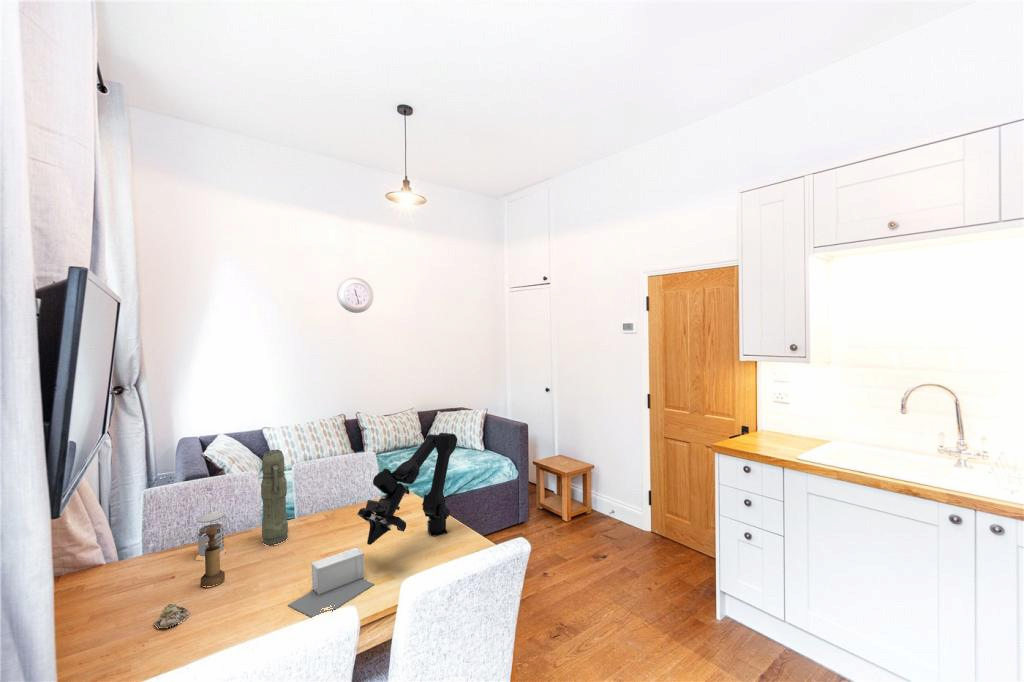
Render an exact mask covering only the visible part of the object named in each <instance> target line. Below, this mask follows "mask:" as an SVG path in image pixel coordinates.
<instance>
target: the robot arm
mask: <svg viewBox="0 0 1024 682" xmlns="http://www.w3.org/2000/svg"><path fill="white" fill-rule="evenodd" d="M457 444H458V437H457V435H456V434H455V433H449V432H440V433H439V434H434V433H433V434H432V433H429V434H428V435H426V438H425V440H424V441H423V442H422V443H421V445H420V446H419V447H418V448H417V449H416V451H415V452H414V453H413V454H412V456H411V457H410V458H409V459H408V460H406V461H404V462H402V463H401V464H400V465H398V466H397V468H396V469H395V470H393V471H391V470H390V469H388V468H383V470H382V471H380V472H378V473H377V474H376V475H375V476H374V477H373V479H372V484H373V486H374V487H376V488H377V489H378V490H379V491H380V492H381V493H382V494H385V495H384V498H383V497H380V498H379V500H372V499H367V502H366V506H365V507H361V508H360V509H359V510H358V512H357V514H356V515H358V517H360V518H362V519H363V520H364V521H365V522H368V523H369V532H368V535H367V542H366V544H367V545H369V546H371V545H373V544H374V543H375V542H376V541H377V540H378V539H380V538H381V537H383V535H385V534H386V533H387V532H389V531H390V532H391V531H392V528H391V527H392V526H394V527H396V529H397V531H399V532H402V533H403V532H405V531H406V529H407V522H406V521H405V520H403V519H402V518H401V517H399V516H395V513H396V512H397V511H400V508H401V507H400V506H399V505H400V504H401V502H402V499H403V498H404V496H405V495H410V494H411V493H410V492H411V491H410V489H409V486H408V485H413V484H414V483H415V481H416V480H417V478H418V476H419V474H420V468H421V466H423V464H424V463H425V462H426V461H427V459H428V458H429V456H430V455H431V454H432V452H433V451H434V450H435V449H436V454H437V455H436V456H437V458H436V462H435V467H434V471H433V477H432V482H431V486H430V491H429V492H427V494H424V495H423V501H422V503H421V506H422V511H423V513H424V517H426V518H428V520H427V522H426V523H427V524H426V525H427V532H428V533H429V535H430V536H431V535H432V537H435V536H434V535H436V536H440V535H444V534H443V533H445V534H448V533H447V532H449V531H448V530H447V519H448V518H449V517H450V514H451V511H450V509H449V508H447V506H446V498H445V494H444V488H445V483H446V480H447V479H446V477H447V475H448V474H447V472H448V467H449V463H450V457H451V455H452V454H453V452H455V450H456V447H457ZM404 484H407V485H404ZM439 534H440V535H439Z"/></svg>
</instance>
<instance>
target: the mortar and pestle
mask: <svg viewBox="0 0 1024 682" xmlns="http://www.w3.org/2000/svg"><path fill="white" fill-rule="evenodd" d="M216 533H217V528H216V527H209V528H208V529H207V531H206V533H205V535H207V536H208V537H209V541H208V543H207V544H208V545H209V547H208V548H206V549H205V561H204V562H205V564H204V568H205V571H204V574H203V575H202V576H201V577H200V586H201V585H202V586H206V587H207V586H213V585H216V584H219V583H221V582H223V580H224V579H225V580H226V573H225V571H224V570H222V569H221V560H220V559H221V556H220V546H215V545H216V540H215V535H216ZM223 583H224V582H223ZM221 584H222V583H221ZM219 585H220V584H219Z"/></svg>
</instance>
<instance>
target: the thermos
mask: <svg viewBox="0 0 1024 682" xmlns="http://www.w3.org/2000/svg"><path fill="white" fill-rule="evenodd" d="M261 463H262V465H261V468H262V469H261V471H262V480H261V483H260V497H261V500H262V518H263V519H262V520H263V523H262V524H261V525H262V526H261V538H262V544H263V543H264V544H266V545H273V546H275V545H274V544H278V543H281V542H283V541H285V540H286V539H287V538H288V539H289V537H288V535H289V534H288V533H289V522H288V519H287V503H286V497H287V494H288V484H287V478H286V474H285V455H284V453H283V451H282V450H280V449H271V450H267V451H266V452H264V453H263V457H262V459H261ZM288 539H287V540H288ZM287 540H286V541H287ZM286 541H285V542H286ZM283 543H284V542H283ZM281 544H282V543H281ZM278 545H279V544H278Z"/></svg>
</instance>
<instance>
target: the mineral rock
mask: <svg viewBox="0 0 1024 682" xmlns="http://www.w3.org/2000/svg"><path fill="white" fill-rule="evenodd" d="M190 615H191V612H190V611H189V610H188V609H187V608H186V607H183V606H180V605H177V604H175V603H170V604H167V605H166V606H165V607H164V609H163V610H162V611H161V613H160V615H159V616H158V618H157V619H156V620H155V621H154V622H153V625H154V624H155V625H156V626H157V627H158V628H159V627H163V628H167V627H170V628H172V627H174V625H175V626H177V625H176V624H178V623H180V622H181V621H183V620H184V619H186V617H187V616H189V617H190ZM186 620H187V619H186ZM155 625H154V626H155ZM171 626H172V627H171ZM167 629H168V628H167Z"/></svg>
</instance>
